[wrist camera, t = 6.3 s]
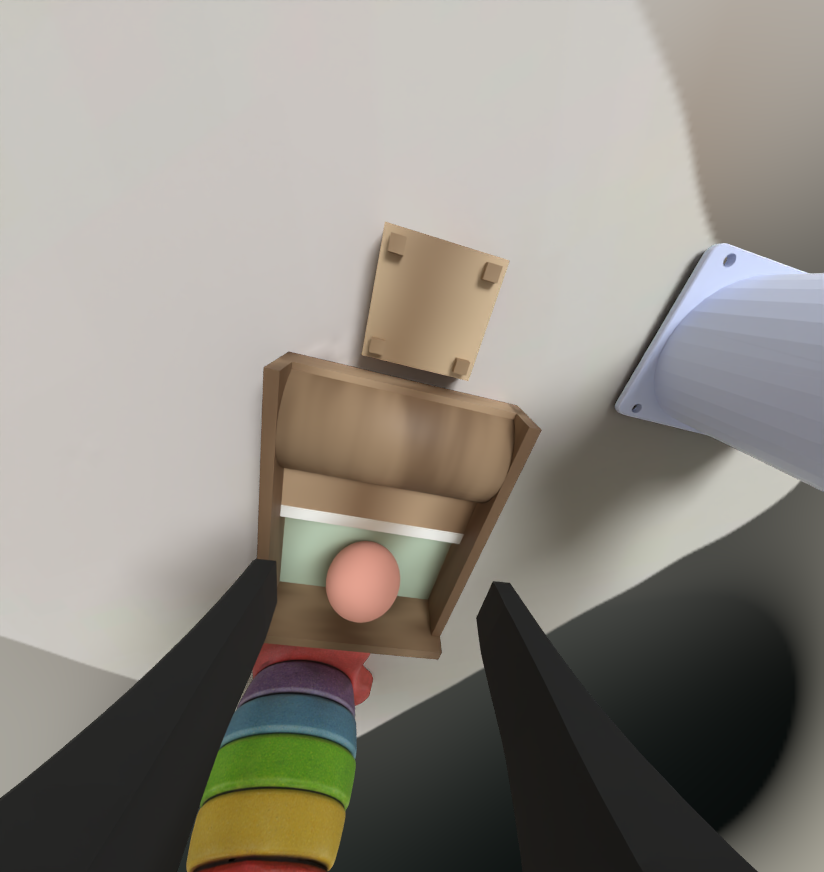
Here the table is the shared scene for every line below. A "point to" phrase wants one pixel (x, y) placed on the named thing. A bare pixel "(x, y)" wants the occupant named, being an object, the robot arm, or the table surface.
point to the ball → (362, 581)
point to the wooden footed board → (431, 302)
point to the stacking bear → (284, 766)
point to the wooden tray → (378, 495)
